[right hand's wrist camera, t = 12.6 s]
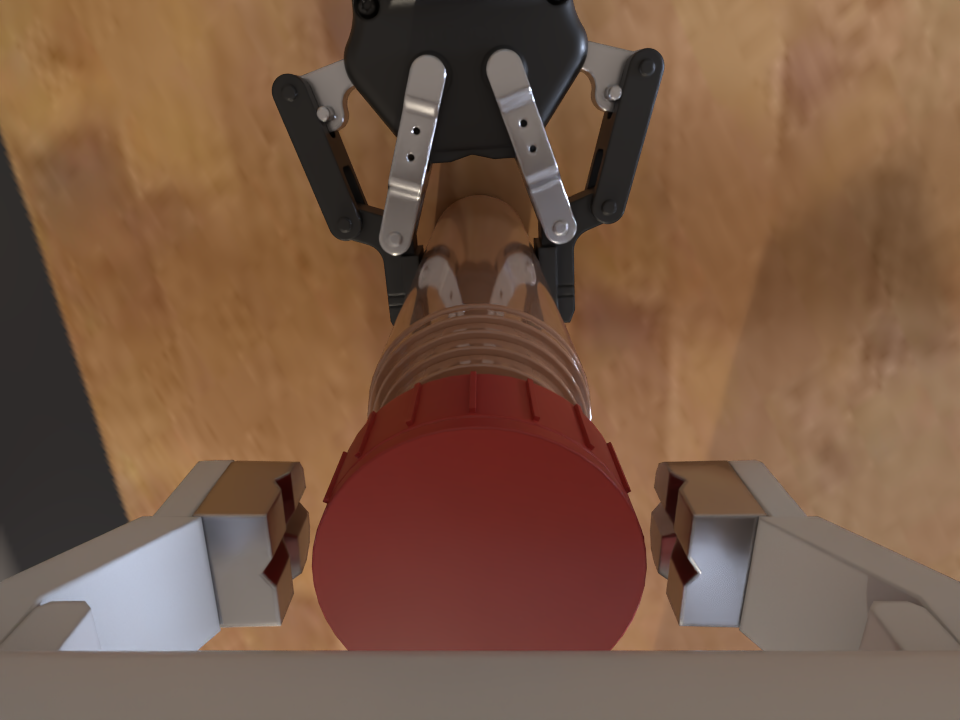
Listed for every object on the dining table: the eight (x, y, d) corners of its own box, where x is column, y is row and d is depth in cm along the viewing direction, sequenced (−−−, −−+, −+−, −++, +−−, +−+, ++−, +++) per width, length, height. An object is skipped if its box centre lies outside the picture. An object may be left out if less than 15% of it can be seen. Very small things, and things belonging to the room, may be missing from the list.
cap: (381, 327, 9) (359, 374, 7) (670, 421, 10) (710, 484, 8) (305, 574, 11) (273, 659, 9) (560, 644, 11) (575, 737, 9)
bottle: (449, 181, 31) (362, 359, 8) (540, 213, 31) (704, 466, 8) (421, 271, 32) (278, 640, 9) (507, 300, 33) (572, 717, 10)
